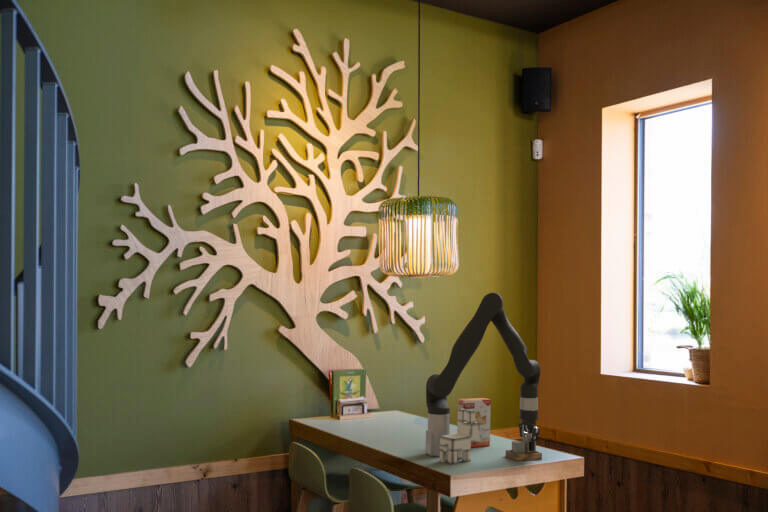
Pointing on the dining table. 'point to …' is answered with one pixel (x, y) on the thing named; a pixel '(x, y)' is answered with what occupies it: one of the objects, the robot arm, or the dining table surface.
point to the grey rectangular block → (518, 447)
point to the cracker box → (479, 417)
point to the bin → (523, 456)
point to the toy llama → (460, 439)
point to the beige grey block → (527, 444)
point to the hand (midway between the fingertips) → (528, 449)
